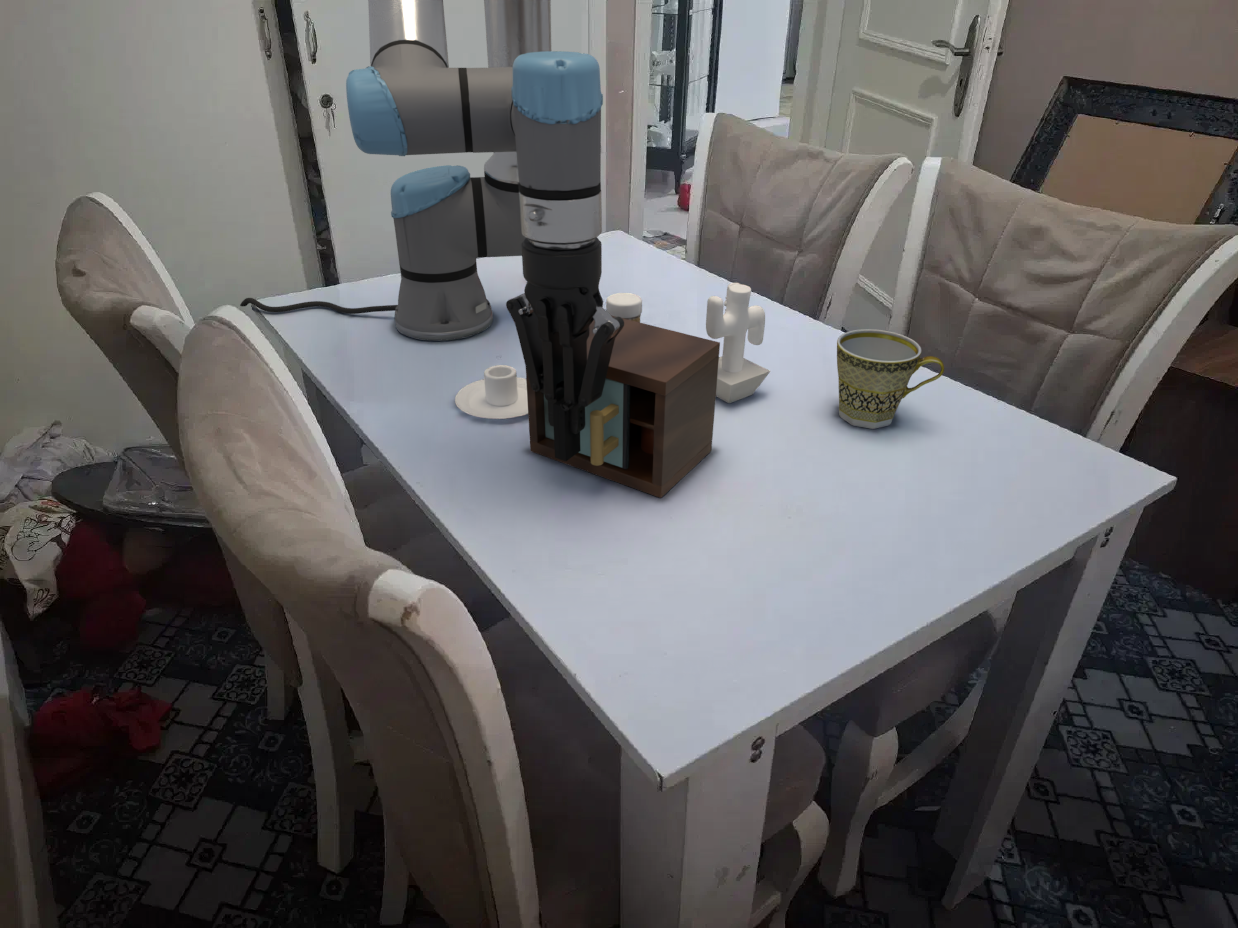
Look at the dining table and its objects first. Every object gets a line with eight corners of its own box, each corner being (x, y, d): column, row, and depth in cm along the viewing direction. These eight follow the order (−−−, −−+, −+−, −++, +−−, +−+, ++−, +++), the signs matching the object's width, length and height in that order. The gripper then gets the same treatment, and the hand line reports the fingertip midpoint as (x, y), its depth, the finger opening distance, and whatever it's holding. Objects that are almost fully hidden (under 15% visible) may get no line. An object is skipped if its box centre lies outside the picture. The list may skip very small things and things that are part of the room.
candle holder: (526, 429, 101) (524, 398, 99) (439, 415, 104) (435, 385, 102) (560, 388, 111) (559, 359, 109) (479, 376, 114) (477, 348, 112)
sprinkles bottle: (646, 395, 110) (649, 299, 103) (618, 403, 107) (619, 306, 100) (627, 382, 113) (629, 289, 106) (599, 390, 111) (599, 295, 104)
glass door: (544, 464, 91) (540, 380, 86) (569, 446, 95) (567, 364, 89) (605, 486, 87) (605, 400, 82) (629, 466, 91) (630, 382, 85)
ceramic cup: (820, 427, 102) (832, 354, 97) (831, 393, 110) (842, 324, 105) (928, 446, 99) (947, 371, 93) (931, 410, 107) (948, 338, 101)
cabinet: (530, 451, 97) (523, 342, 90) (587, 411, 106) (586, 308, 98) (660, 498, 89) (665, 382, 81) (711, 451, 97) (720, 342, 90)
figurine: (773, 393, 110) (786, 286, 102) (722, 413, 106) (731, 302, 98) (736, 374, 115) (745, 271, 107) (685, 392, 110) (691, 285, 103)
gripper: (481, 236, 77) (499, 451, 89) (596, 260, 71) (597, 488, 83) (531, 218, 82) (541, 424, 94) (641, 239, 76) (636, 456, 88)
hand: (567, 454), depth 89 cm, fingers closed
